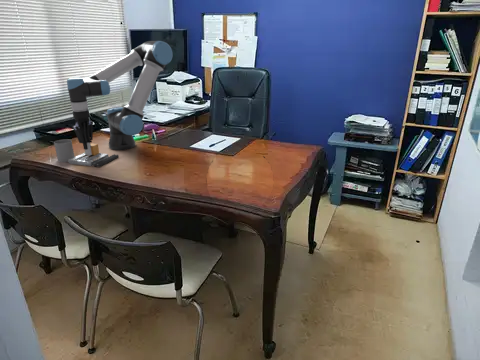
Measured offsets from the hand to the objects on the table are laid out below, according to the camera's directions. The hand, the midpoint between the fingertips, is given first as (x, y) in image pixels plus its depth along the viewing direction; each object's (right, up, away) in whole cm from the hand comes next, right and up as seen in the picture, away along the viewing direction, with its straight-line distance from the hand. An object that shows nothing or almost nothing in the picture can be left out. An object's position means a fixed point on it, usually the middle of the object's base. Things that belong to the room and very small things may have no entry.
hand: (88, 154), depth 181 cm
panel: (0, -3, +1) cm, 3 cm away
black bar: (+9, -4, 0) cm, 10 cm away
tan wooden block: (+1, 0, +4) cm, 4 cm away
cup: (-13, -3, +3) cm, 14 cm away
